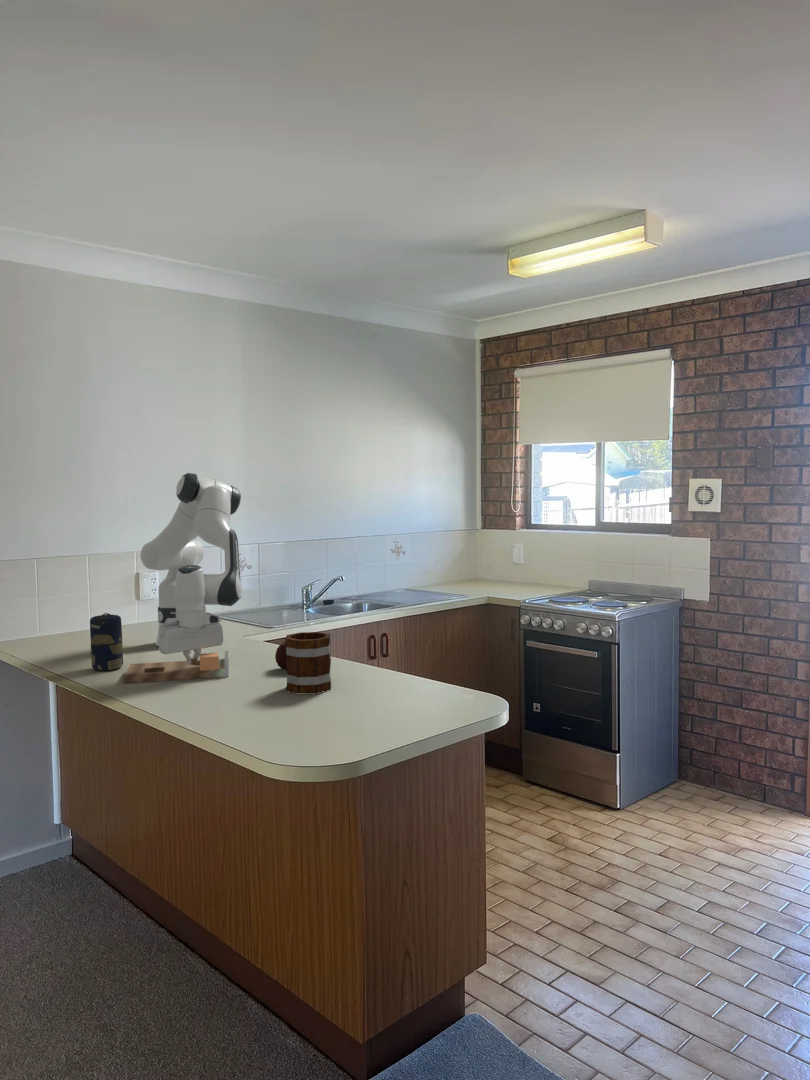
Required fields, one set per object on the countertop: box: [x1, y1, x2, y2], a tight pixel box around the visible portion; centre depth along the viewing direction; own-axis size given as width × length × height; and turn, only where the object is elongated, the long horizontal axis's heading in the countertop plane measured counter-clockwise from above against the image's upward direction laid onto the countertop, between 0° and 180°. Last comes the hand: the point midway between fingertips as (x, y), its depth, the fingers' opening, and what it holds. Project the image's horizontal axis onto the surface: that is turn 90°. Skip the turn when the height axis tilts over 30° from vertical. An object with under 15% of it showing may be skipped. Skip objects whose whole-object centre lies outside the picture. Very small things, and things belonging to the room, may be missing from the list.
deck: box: [123, 658, 226, 684], centre depth 243 cm, size 29×15×2 cm, turn 102°
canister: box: [89, 612, 124, 671], centre depth 252 cm, size 10×10×18 cm
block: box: [198, 652, 220, 671], centre depth 240 cm, size 6×6×4 cm
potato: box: [274, 641, 286, 671], centre depth 247 cm, size 9×12×9 cm
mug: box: [284, 631, 332, 694], centre depth 227 cm, size 20×14×15 cm
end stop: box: [224, 650, 230, 678], centre depth 247 cm, size 1×15×5 cm, turn 12°
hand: (192, 664), depth 240 cm, fingers closed
